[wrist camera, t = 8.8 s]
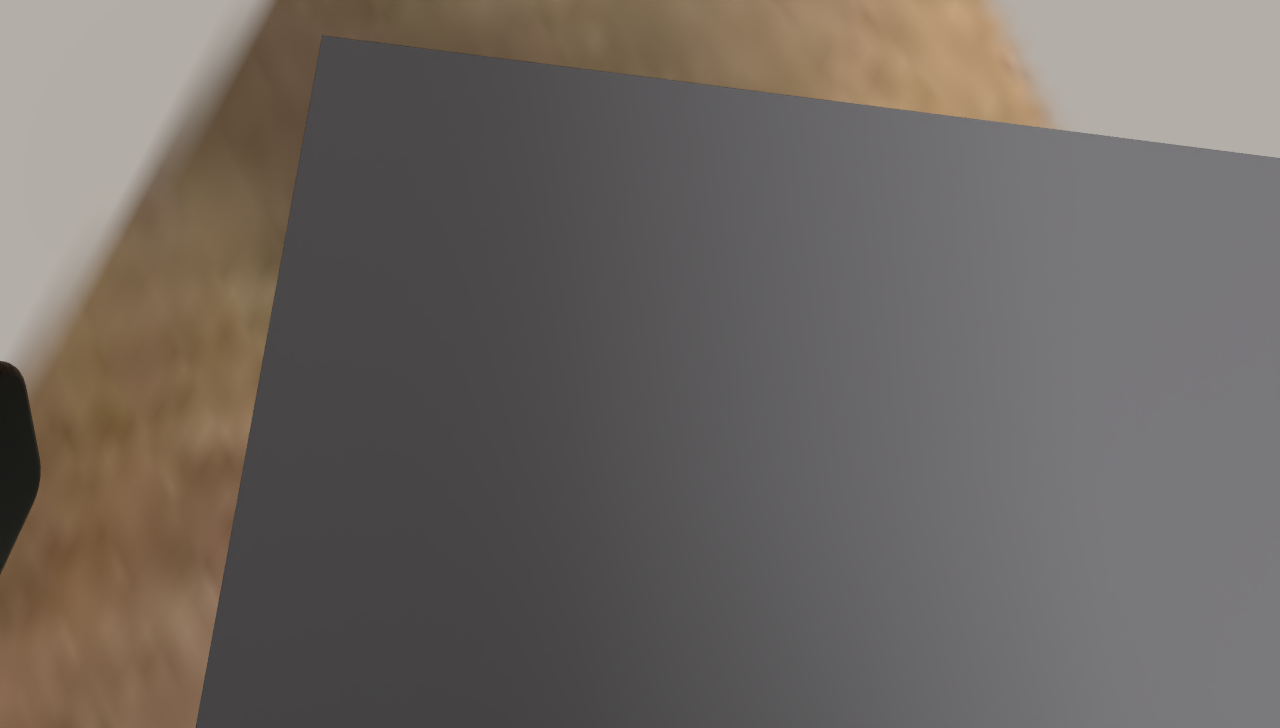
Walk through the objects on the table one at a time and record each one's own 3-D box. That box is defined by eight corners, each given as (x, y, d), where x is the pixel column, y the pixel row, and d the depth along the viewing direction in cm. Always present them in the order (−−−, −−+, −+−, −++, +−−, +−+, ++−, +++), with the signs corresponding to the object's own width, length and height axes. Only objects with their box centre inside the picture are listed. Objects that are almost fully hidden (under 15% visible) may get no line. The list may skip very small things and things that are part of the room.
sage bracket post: (724, 742, 16) (1434, 1440, 3) (505, 717, 16) (92, 1295, 3) (746, 521, 17) (1418, 177, 3) (534, 496, 17) (319, 36, 3)
